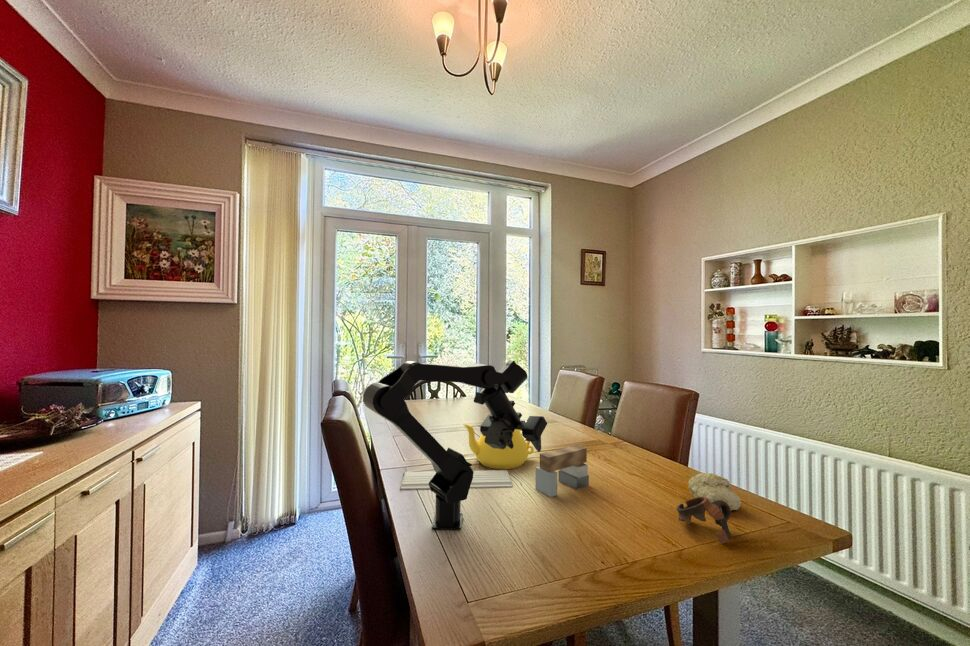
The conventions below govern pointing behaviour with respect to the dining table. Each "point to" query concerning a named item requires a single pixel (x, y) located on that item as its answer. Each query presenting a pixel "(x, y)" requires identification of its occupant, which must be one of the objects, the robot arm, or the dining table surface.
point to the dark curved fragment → (701, 504)
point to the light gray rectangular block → (546, 482)
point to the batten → (563, 458)
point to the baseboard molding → (479, 481)
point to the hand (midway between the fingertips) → (525, 449)
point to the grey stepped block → (575, 476)
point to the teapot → (500, 451)
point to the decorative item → (713, 489)
